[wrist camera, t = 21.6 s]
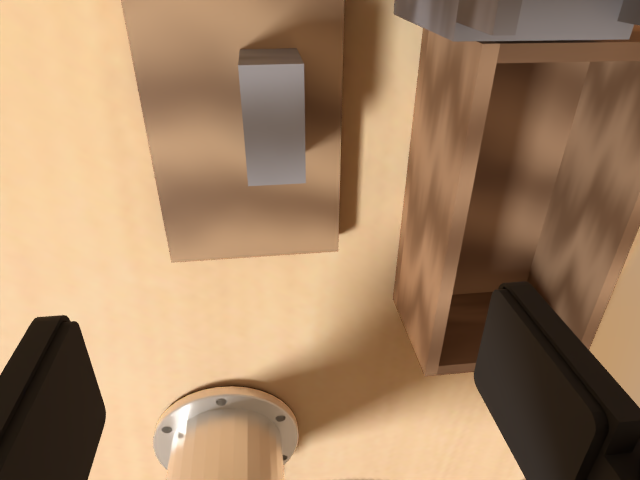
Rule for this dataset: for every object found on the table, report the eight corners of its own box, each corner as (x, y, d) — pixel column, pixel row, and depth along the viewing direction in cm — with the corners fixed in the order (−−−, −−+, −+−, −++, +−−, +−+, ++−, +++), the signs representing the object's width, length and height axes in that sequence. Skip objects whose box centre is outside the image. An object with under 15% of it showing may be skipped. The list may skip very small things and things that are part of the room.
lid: (333, 234, 34) (348, 286, 29) (175, 244, 33) (162, 300, 28) (339, -111, 24) (365, -126, 19) (110, -114, 23) (68, -132, 17)
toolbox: (525, 289, 39) (629, 417, 28) (370, 300, 37) (418, 440, 27) (633, -83, 26) (900, -105, 15) (401, -88, 24) (519, -115, 14)
